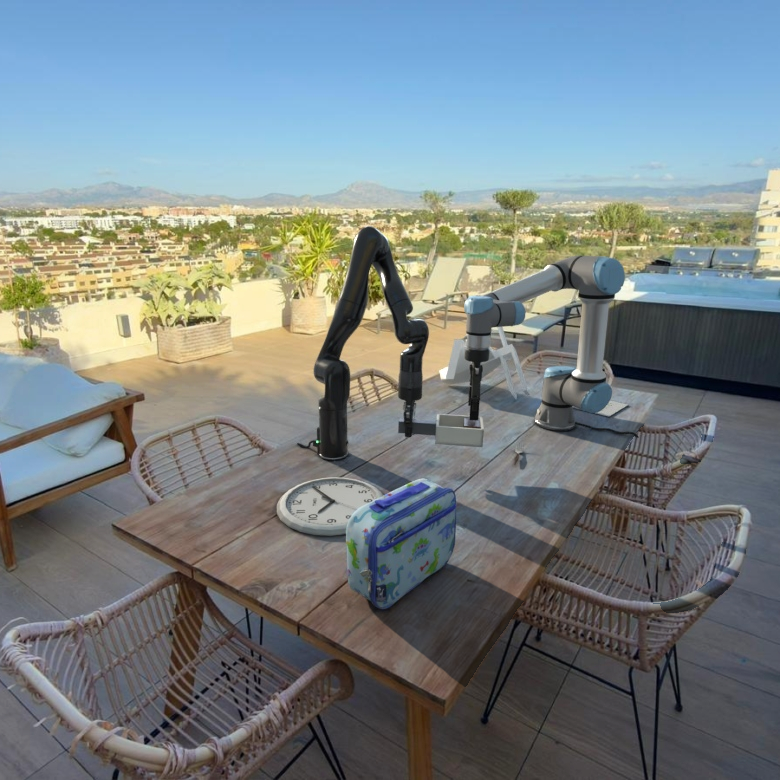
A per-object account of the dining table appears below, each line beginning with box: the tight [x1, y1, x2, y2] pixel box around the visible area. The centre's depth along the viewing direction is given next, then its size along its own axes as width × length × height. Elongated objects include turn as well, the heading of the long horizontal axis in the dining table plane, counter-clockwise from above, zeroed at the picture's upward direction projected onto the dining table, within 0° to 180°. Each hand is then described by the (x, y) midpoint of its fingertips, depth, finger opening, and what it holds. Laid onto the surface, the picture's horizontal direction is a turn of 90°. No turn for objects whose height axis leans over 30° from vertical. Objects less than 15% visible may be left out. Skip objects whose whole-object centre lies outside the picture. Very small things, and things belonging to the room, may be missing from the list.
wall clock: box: [276, 476, 385, 537], centre depth 142 cm, size 30×2×30 cm
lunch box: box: [345, 477, 457, 610], centre depth 110 cm, size 26×11×21 cm, turn 134°
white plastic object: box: [438, 327, 531, 400], centre depth 245 cm, size 37×45×31 cm
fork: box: [514, 442, 525, 466], centre depth 175 cm, size 3×16×2 cm, turn 160°
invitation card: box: [573, 400, 629, 418], centre depth 226 cm, size 21×1×15 cm
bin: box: [397, 413, 485, 448], centre depth 167 cm, size 27×12×6 cm, turn 83°
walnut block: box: [463, 418, 481, 429], centre depth 165 cm, size 5×5×7 cm
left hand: (408, 434), depth 169 cm, fingers closed on bin, 3 cm apart
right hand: (473, 412), depth 167 cm, fingers open, 13 cm apart
